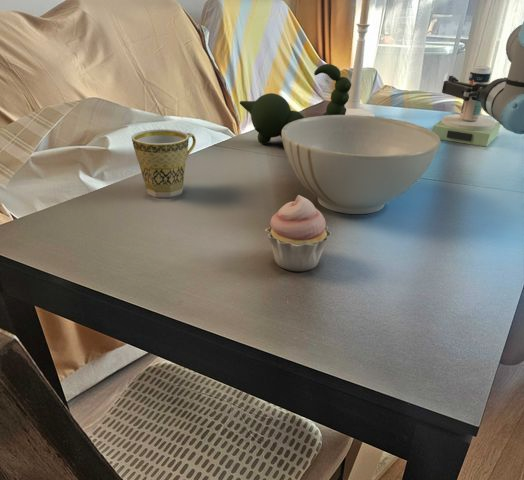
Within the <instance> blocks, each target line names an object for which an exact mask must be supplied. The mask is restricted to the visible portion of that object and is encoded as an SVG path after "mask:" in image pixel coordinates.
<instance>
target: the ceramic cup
mask: <svg viewBox="0 0 524 480" xmlns="http://www.w3.org/2000/svg"><path fill="white" fill-rule="evenodd" d="M190 138H192V143H191V146H190V147H189V139H190ZM196 140H197V139H196V137H195V135H194V134H193V133H191V132H184V131H182V130H177V129H167V128H157V129H156V128H155V129H147V130H146V129H145V130H142V131H138V132H136V133H134V134H133V135H132V136H131V141H132V146H133V149H134V153H135V156H136V159H137V162H138V164H139V169H140V172H141V175H142V178H143V181H144V186H145V190H146V193H147V194H148V195H149V196H152V197H153V198H162V199H164V198H166V199H167V198H169V199H170V198H174V197H177V196H180V195H182V193H183V191H184V180H185V168H186V161H187V159H188V157H189V155H190V154H191V153H192V151H193V150H194V148H195V147H196V143H197V141H196Z"/></svg>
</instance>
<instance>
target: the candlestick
mask: <svg viewBox="0 0 524 480" xmlns="http://www.w3.org/2000/svg"><path fill="white" fill-rule="evenodd" d="M370 3H371V0H361V8H360V15H359V23H356V26H357V34H358V38H357V40H356V41H357V43H356V48H355V53H354V61H353V67H352V72H351V73H352V74H351V80H350V82H351V84H352V85H351V88H350V90H349V91H348V94H349V99H348V102H347V103H346V104H345V105H344V106H345V108H346V113H345V115H361V116H373V117H375V114H374V113H373V112H372V111H371V110H369V109H367V108H365V107H362V106H361V93H362V82H363V70H364V69H363V68H364V57H365V46H366V45H365V43H366V39H365V37H366V34H367V33H368V29H369V26H371V24H370V23H368V20H369V12H370Z"/></svg>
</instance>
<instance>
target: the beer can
mask: <svg viewBox="0 0 524 480" xmlns="http://www.w3.org/2000/svg"><path fill="white" fill-rule="evenodd" d="M491 69H492V68H491V67H489V66H482V65H475V66H473V67H472V68H471V70H470V72H469V76H468V81H467V83H468V84H473V85H475V84H478V83H481V84H490V78H491V75H492V70H491ZM480 88H483V87H480ZM482 110H483V108H482V106H481V102H480V101H476V100H472V98H471V97H470V99H469V101H465V100H463V101H462V106H461V109H460V112H459V114H460V118H461V119H462V120H463V121H468V122H474V121H476V120H479V117H480V116H481V113H482Z"/></svg>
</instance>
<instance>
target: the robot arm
mask: <svg viewBox="0 0 524 480" xmlns="http://www.w3.org/2000/svg"><path fill="white" fill-rule="evenodd" d="M505 55H506V57H507V60H508V61H509V62H510V66H509V69H508V74H507V77H501V78H496V79H494V80H492V81H491V82H489V83H488V84H481V83H478V84H475V85H473V84H468V82H462V81H459V79H458V78H456V77H455V76H453V75H448V79H447V80H444V81H443V83H442V88H441V93H442V94H444V95H449V96H450V97H451V96H452V97H455V98H458V99H461V100H463V101H464V100H465V101H469V99H470V97H471V98H472V100H476V101H480V102H481V106H482V110H483V112H485V113H486V114H487V115H489V116H490V117H491V118H493V119H494V121H496V122H498V123H499V124H500V126H502V127H503V128H504V129H505V130H506V131H509V132H510V133H514V134H517V135H524V21H523V22H522V24H520V25H518V26H517V27H516V28H514V29H513V30H512V32H511V33H510V34H509V36H508V38H507V40H506V44H505ZM480 87H483V88H480Z"/></svg>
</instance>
